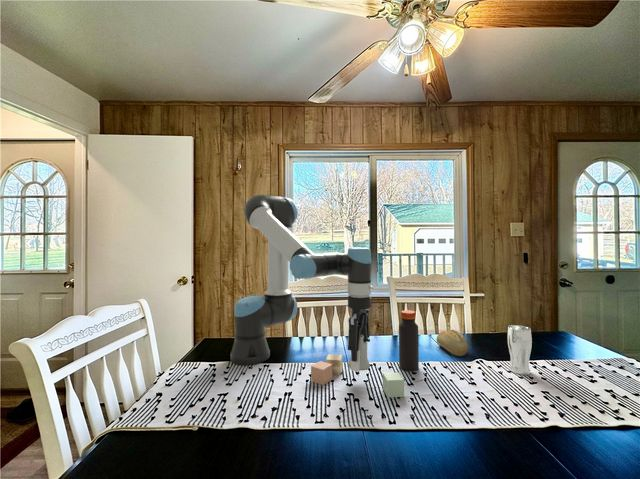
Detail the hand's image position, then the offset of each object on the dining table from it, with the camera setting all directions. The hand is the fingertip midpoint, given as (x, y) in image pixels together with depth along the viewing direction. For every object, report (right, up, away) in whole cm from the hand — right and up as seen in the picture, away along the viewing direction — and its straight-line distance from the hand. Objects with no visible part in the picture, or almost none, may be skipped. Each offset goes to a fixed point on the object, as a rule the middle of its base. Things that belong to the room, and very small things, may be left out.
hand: (359, 365), depth 97 cm
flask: (0, -1, 0) cm, 1 cm away
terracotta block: (-12, -5, +2) cm, 13 cm away
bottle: (+19, -5, +10) cm, 22 cm away
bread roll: (+41, -5, +26) cm, 49 cm away
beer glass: (+56, -5, +6) cm, 57 cm away
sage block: (+9, -5, -7) cm, 13 cm away
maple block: (-8, -5, +8) cm, 12 cm away
